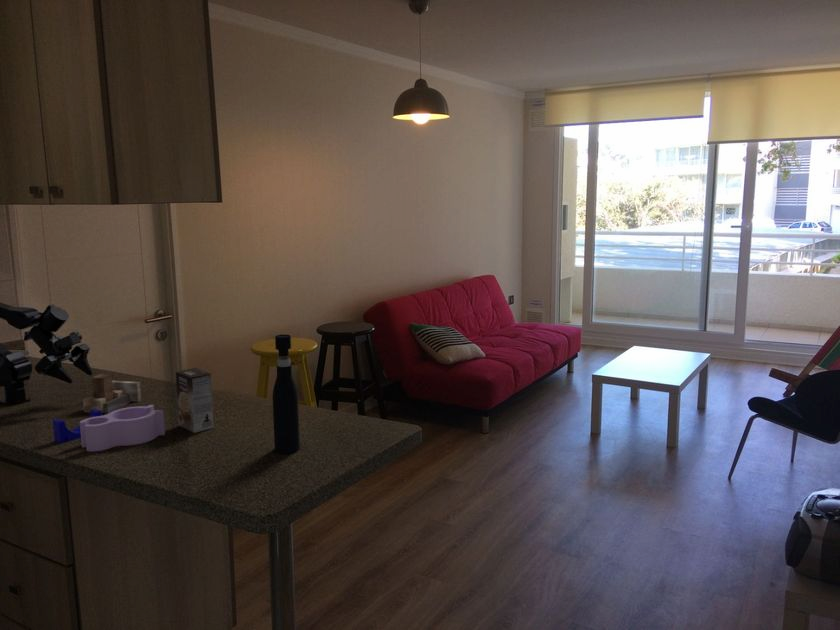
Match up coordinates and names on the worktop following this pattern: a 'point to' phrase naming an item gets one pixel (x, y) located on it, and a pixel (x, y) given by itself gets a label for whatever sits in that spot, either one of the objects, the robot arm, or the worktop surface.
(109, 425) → the purple double cup holder
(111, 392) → the plain brown block
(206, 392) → the coffee box
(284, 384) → the dark blue water bottle
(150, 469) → the worktop surface
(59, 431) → the cable clip
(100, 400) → the stepped pillar cluster
